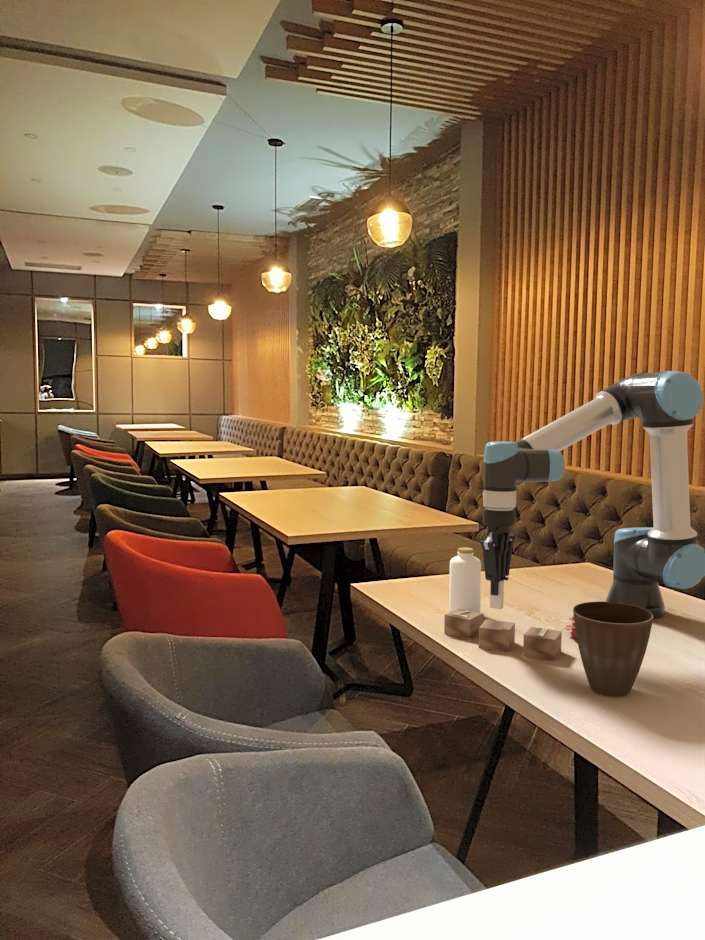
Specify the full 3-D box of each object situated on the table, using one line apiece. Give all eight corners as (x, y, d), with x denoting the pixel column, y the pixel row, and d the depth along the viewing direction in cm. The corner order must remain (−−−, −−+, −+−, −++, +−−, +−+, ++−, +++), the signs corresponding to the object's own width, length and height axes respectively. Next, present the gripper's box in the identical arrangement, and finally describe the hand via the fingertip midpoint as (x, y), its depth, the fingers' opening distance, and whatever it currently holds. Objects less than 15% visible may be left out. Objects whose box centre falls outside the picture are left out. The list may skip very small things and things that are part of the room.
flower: (613, 628, 180) (594, 600, 183) (614, 632, 172) (594, 602, 174) (578, 648, 182) (560, 619, 185) (577, 652, 174) (558, 622, 176)
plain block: (514, 643, 176) (515, 622, 175) (508, 652, 169) (509, 631, 169) (485, 639, 178) (485, 619, 178) (478, 648, 172) (478, 627, 171)
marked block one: (561, 652, 169) (561, 630, 169) (554, 661, 163) (555, 638, 163) (530, 647, 172) (531, 626, 172) (523, 656, 166) (523, 634, 166)
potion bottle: (442, 614, 198) (443, 549, 196) (460, 608, 204) (461, 544, 202) (468, 621, 192) (469, 553, 191) (486, 614, 199) (487, 548, 197)
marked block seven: (483, 632, 184) (483, 612, 183) (469, 639, 178) (470, 618, 177) (458, 627, 188) (458, 607, 187) (444, 634, 182) (444, 613, 182)
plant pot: (658, 708, 138) (661, 625, 136) (575, 702, 141) (578, 620, 139) (641, 678, 153) (644, 603, 151) (567, 674, 155) (569, 599, 154)
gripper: (497, 503, 178) (494, 599, 180) (471, 509, 168) (468, 610, 170) (526, 506, 173) (523, 604, 176) (501, 512, 163) (498, 616, 165)
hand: (496, 607), depth 173 cm, fingers closed
